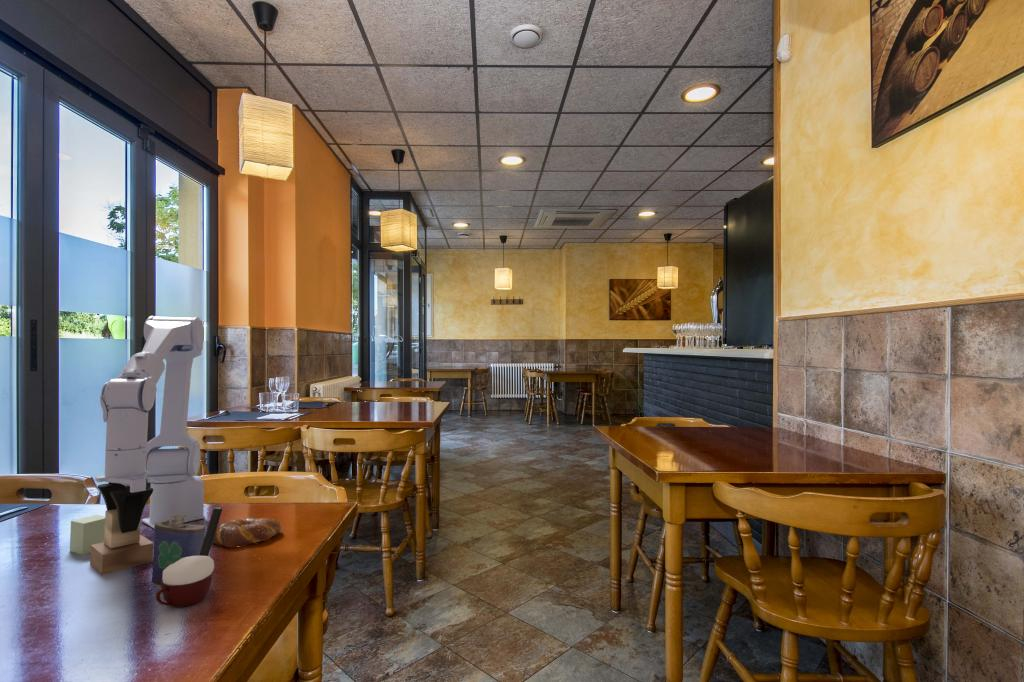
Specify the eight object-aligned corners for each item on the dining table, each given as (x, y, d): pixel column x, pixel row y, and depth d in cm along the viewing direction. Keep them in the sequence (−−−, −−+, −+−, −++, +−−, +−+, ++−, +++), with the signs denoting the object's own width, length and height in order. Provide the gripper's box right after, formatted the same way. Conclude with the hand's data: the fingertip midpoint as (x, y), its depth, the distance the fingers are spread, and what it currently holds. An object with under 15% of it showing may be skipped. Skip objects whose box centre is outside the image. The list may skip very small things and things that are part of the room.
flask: (207, 582, 79) (209, 513, 79) (191, 591, 76) (193, 519, 77) (162, 575, 82) (164, 508, 82) (144, 583, 79) (146, 513, 79)
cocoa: (159, 622, 68) (158, 533, 68) (145, 605, 72) (145, 522, 72) (234, 594, 75) (234, 514, 75) (218, 580, 79) (218, 505, 79)
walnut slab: (139, 553, 91) (140, 534, 91) (152, 563, 87) (153, 542, 87) (89, 565, 86) (90, 545, 86) (101, 576, 81) (102, 554, 82)
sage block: (95, 544, 95) (96, 514, 95) (107, 547, 93) (109, 517, 94) (69, 551, 91) (71, 520, 92) (82, 554, 90) (83, 523, 90)
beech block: (132, 537, 89) (133, 506, 90) (139, 542, 87) (141, 509, 87) (104, 543, 86) (105, 510, 87) (110, 548, 84) (112, 514, 84)
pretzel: (280, 526, 106) (281, 509, 107) (280, 544, 97) (281, 524, 97) (215, 534, 101) (215, 515, 102) (208, 553, 92) (208, 532, 92)
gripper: (86, 446, 89) (82, 524, 88) (109, 456, 80) (106, 543, 79) (134, 441, 94) (131, 514, 94) (161, 450, 85) (158, 531, 85)
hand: (123, 527), depth 87 cm, fingers open, 6 cm apart
